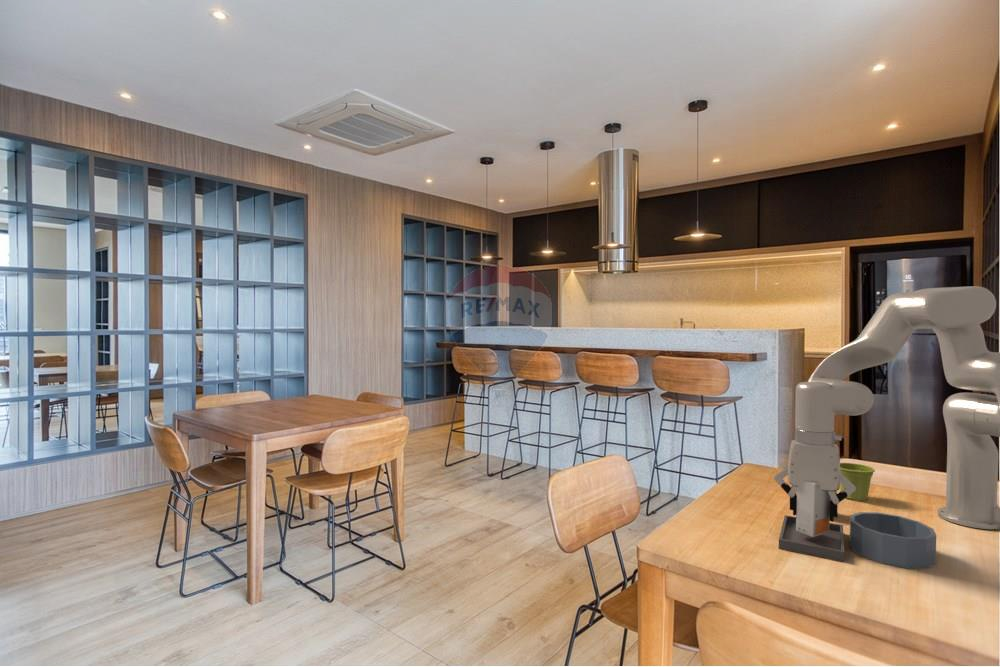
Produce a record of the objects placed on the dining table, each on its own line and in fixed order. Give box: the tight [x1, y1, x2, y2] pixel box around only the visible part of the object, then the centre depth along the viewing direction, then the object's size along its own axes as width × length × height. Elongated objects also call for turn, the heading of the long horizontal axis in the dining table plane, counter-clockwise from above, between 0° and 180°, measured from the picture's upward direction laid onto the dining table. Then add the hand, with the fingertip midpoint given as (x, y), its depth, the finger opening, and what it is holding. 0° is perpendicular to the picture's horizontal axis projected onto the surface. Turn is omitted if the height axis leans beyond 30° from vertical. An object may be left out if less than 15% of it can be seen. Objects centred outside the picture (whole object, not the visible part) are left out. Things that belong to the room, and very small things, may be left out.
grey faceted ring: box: [849, 511, 937, 570], centre depth 115 cm, size 15×15×6 cm
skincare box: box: [795, 481, 831, 537], centre depth 120 cm, size 6×4×12 cm
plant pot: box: [839, 462, 876, 502], centre depth 150 cm, size 9×9×9 cm
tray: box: [778, 514, 845, 563], centre depth 121 cm, size 12×17×2 cm
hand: (813, 515), depth 120 cm, fingers closed on skincare box, 6 cm apart
